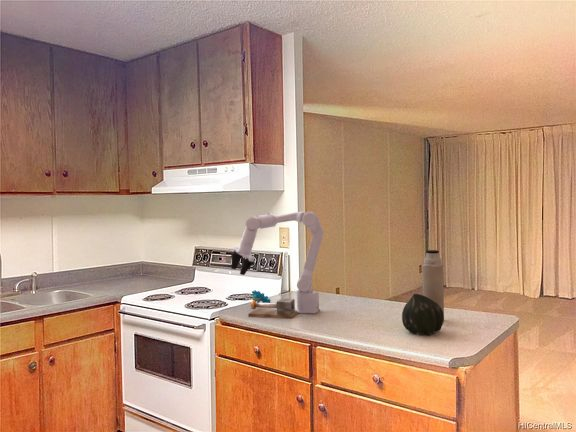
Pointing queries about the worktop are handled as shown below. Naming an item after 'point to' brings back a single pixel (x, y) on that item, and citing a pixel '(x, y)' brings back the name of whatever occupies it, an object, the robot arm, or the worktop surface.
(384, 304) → the worktop surface
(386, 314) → the worktop surface
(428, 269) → the thermos bottle
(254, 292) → the gear
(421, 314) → the squash
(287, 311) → the bearing stand
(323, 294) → the worktop surface
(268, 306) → the shaft
